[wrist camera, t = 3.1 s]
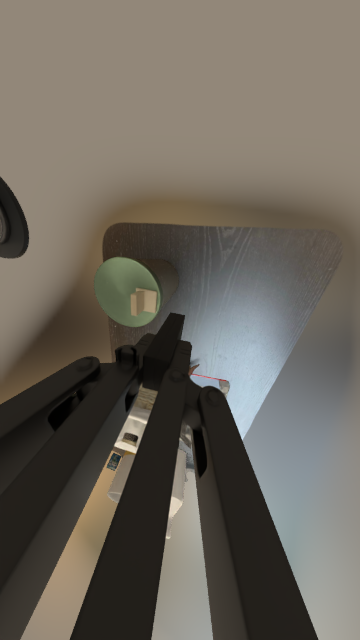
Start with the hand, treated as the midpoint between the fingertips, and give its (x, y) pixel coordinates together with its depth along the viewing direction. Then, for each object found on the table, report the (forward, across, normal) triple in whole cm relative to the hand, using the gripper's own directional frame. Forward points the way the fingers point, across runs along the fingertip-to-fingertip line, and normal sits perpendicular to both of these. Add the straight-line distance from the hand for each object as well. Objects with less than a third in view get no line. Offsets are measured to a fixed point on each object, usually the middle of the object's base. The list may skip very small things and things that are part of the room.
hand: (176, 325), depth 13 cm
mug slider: (+5, -5, 0) cm, 8 cm away
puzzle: (+22, -31, -125) cm, 131 cm away
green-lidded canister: (+22, -9, 0) cm, 24 cm away
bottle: (+22, +9, -94) cm, 97 cm away
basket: (+22, -11, -49) cm, 55 cm away
